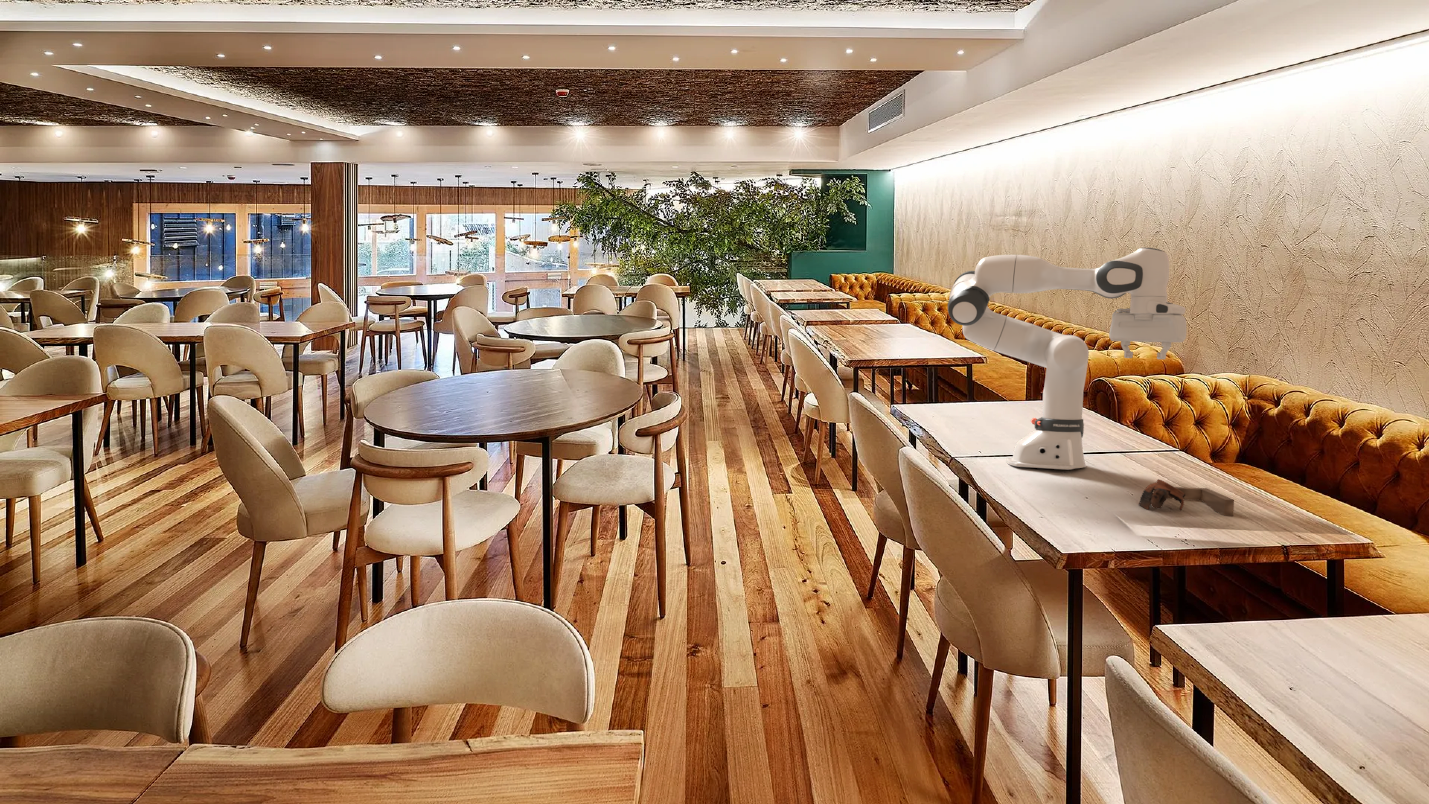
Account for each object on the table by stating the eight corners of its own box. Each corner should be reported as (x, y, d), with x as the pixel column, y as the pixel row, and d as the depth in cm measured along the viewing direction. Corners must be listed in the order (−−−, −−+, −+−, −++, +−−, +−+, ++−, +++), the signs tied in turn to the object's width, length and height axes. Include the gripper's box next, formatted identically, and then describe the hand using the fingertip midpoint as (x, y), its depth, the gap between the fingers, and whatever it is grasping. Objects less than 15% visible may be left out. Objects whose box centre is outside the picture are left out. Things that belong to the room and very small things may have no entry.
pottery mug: (1136, 503, 213) (1154, 477, 211) (1172, 524, 208) (1191, 497, 207) (1133, 501, 203) (1152, 473, 201) (1170, 523, 198) (1190, 494, 196)
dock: (1175, 513, 201) (1176, 497, 200) (1152, 501, 216) (1153, 486, 216) (1233, 516, 198) (1234, 499, 198) (1206, 503, 214) (1206, 488, 214)
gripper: (1106, 308, 229) (1102, 357, 230) (1177, 306, 211) (1173, 359, 212) (1120, 309, 232) (1116, 357, 233) (1191, 307, 214) (1187, 360, 215)
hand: (1144, 358), depth 223 cm, fingers open, 8 cm apart
